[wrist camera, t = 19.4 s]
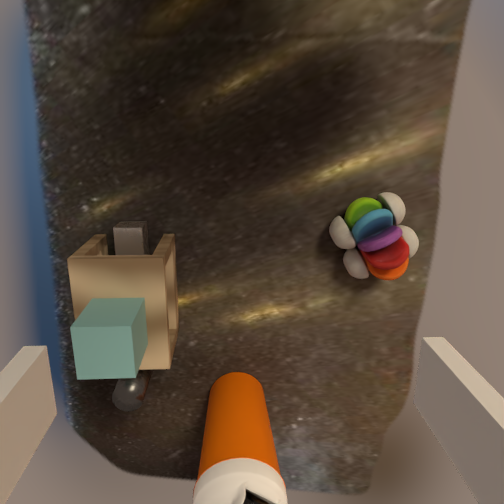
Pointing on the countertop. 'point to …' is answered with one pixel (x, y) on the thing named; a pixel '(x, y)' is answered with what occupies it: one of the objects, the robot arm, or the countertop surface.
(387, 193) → the rainbow segmented toy
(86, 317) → the block
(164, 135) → the countertop surface
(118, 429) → the countertop surface
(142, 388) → the hammer
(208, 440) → the shaker bottle
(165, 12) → the countertop surface
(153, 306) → the tunnel
